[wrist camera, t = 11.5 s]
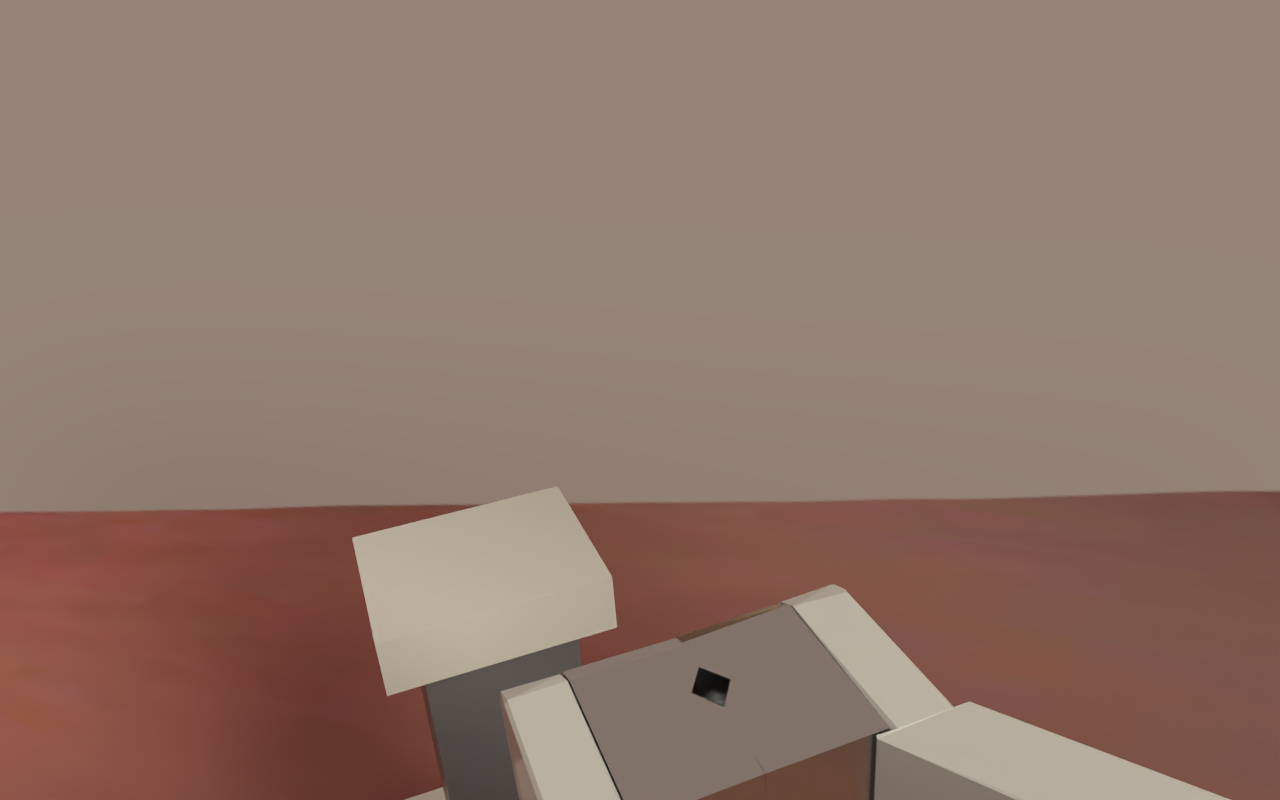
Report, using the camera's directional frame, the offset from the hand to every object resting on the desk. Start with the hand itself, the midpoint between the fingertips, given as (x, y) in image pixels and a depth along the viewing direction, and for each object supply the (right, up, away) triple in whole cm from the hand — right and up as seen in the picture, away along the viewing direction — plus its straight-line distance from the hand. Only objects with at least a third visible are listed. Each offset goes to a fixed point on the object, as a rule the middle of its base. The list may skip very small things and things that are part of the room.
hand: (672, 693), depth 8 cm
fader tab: (-3, -13, +17) cm, 22 cm away
